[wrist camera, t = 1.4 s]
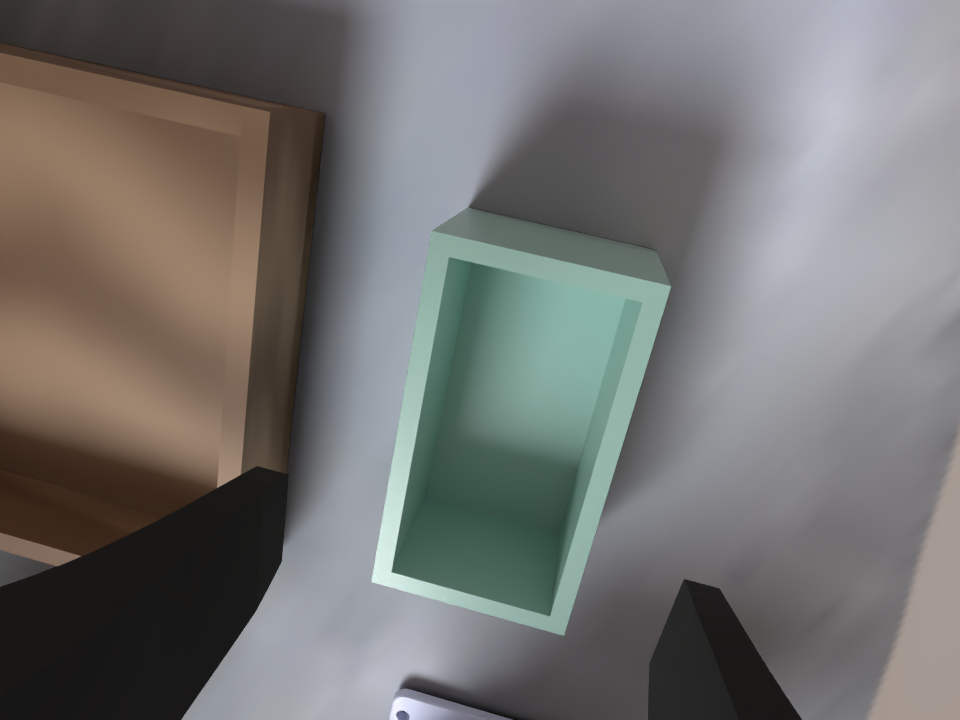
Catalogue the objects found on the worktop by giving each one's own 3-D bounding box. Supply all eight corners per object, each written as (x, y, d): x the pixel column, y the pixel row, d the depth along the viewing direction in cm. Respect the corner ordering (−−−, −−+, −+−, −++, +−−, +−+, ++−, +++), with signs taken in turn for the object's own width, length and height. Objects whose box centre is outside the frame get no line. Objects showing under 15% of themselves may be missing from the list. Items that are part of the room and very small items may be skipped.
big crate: (277, 552, 25) (229, 616, 22) (-51, 459, 26) (-144, 508, 23) (325, 113, 20) (269, 112, 16) (-93, 22, 21) (-223, 3, 17)
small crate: (571, 541, 23) (564, 635, 19) (412, 498, 23) (371, 581, 19) (656, 250, 19) (671, 286, 15) (467, 207, 20) (431, 230, 16)
